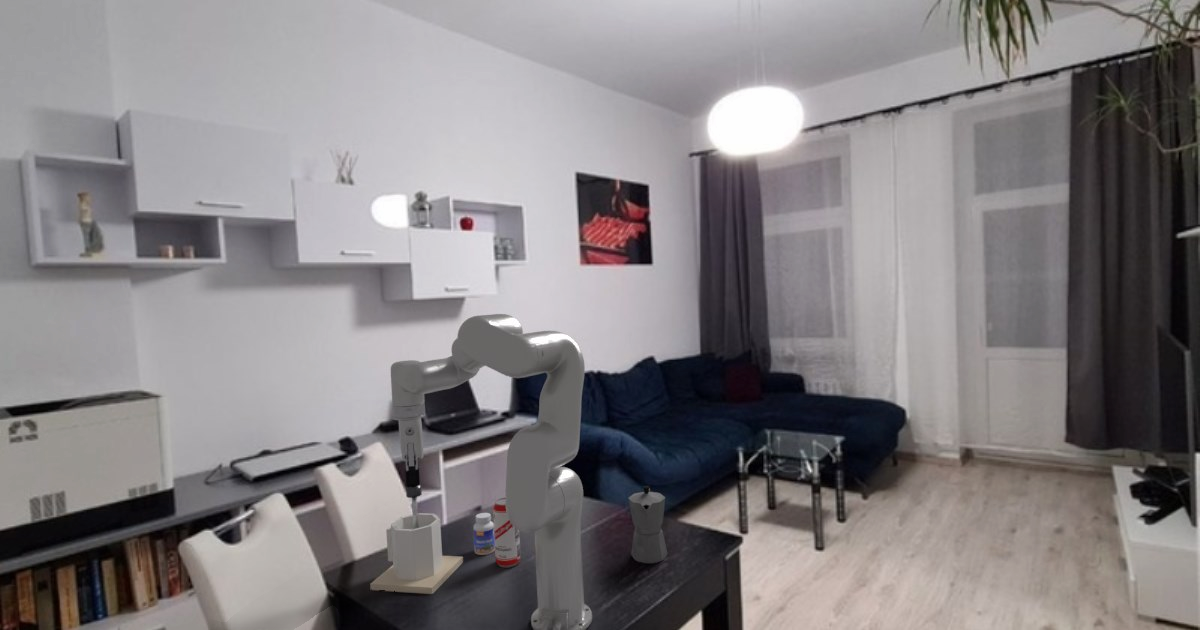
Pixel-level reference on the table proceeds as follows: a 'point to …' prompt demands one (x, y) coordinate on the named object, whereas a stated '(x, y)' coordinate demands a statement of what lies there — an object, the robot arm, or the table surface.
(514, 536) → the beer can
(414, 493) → the plunger
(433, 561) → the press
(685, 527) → the table surface
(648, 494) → the coffeepot
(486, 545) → the pill bottle
